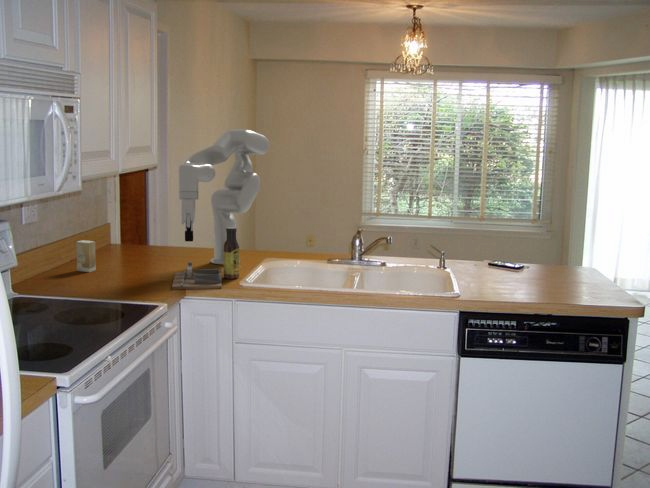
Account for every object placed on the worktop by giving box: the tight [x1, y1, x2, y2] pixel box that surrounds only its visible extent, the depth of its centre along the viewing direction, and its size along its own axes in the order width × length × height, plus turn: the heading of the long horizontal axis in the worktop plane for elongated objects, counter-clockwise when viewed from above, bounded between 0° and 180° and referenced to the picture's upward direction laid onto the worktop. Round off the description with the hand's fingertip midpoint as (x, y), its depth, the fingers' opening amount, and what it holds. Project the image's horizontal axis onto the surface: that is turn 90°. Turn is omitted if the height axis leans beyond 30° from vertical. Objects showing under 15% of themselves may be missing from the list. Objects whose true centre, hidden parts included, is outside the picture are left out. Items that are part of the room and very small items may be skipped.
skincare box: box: [75, 239, 97, 273], centre depth 276 cm, size 6×4×12 cm
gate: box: [186, 261, 193, 278], centre depth 267 cm, size 10×2×4 cm, turn 9°
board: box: [171, 268, 223, 290], centre depth 262 cm, size 24×18×4 cm
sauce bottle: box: [222, 227, 240, 280], centre depth 267 cm, size 7×6×20 cm
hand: (189, 241), depth 274 cm, fingers closed
